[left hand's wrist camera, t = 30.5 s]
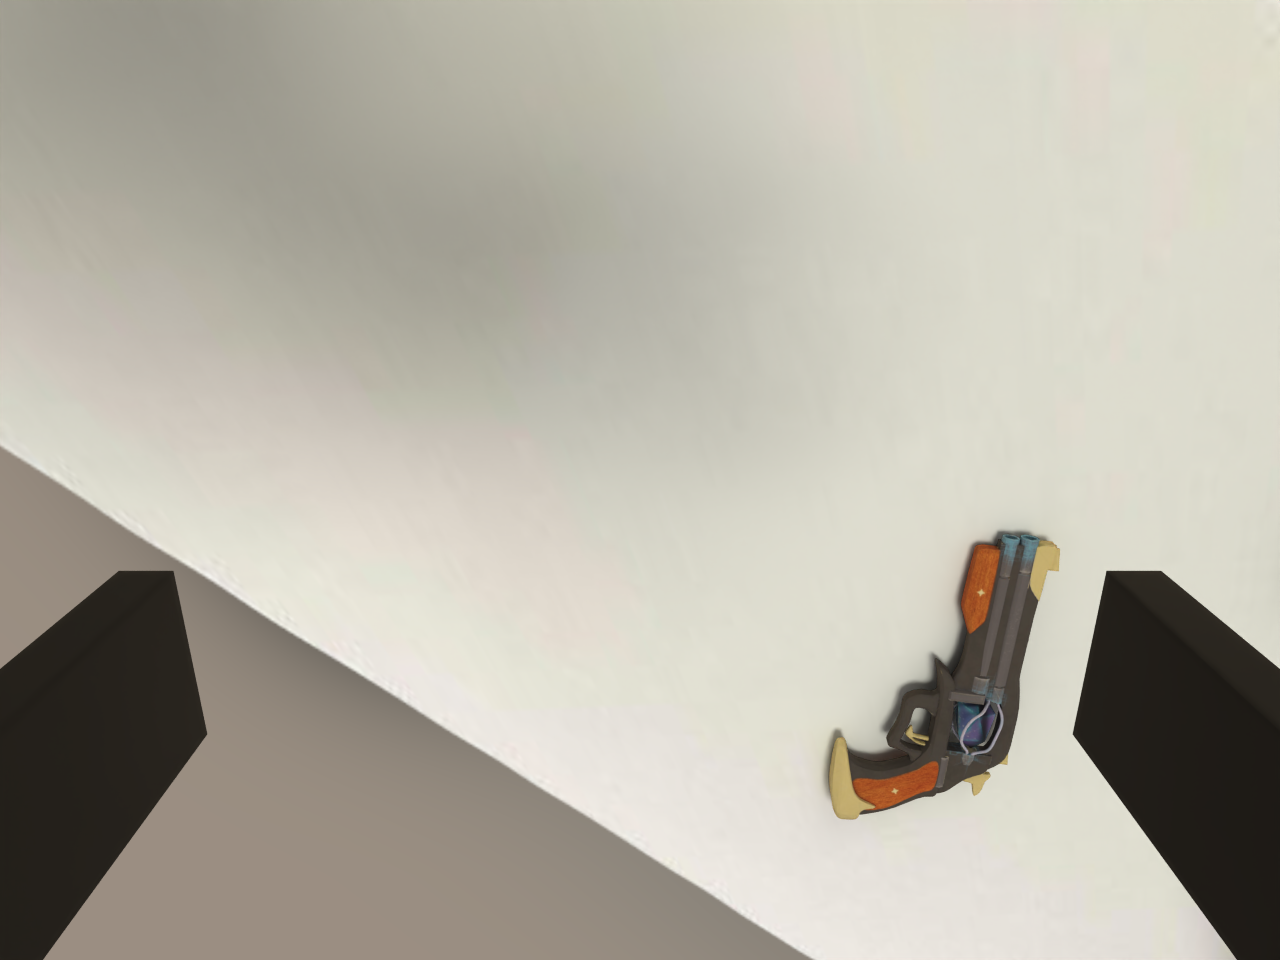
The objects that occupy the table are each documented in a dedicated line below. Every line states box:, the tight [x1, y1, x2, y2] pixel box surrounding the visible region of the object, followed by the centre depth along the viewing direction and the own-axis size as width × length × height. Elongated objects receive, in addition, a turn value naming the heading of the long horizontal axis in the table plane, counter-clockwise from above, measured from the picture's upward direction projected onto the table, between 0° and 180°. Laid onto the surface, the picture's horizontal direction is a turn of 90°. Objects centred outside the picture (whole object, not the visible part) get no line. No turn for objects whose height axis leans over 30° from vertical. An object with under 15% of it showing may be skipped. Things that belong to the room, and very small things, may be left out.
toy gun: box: [829, 534, 1060, 819], centre depth 51 cm, size 3×19×10 cm
